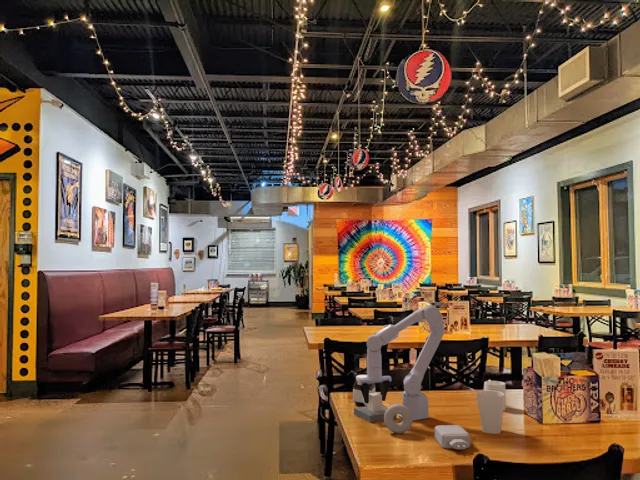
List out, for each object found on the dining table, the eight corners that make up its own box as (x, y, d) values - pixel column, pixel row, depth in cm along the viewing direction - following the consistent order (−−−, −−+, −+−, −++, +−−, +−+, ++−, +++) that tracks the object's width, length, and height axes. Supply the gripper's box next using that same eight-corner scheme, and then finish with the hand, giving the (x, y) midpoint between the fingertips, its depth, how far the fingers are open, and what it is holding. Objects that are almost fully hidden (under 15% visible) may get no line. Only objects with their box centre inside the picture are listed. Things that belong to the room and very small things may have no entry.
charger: (447, 456, 153) (434, 439, 168) (477, 455, 153) (461, 439, 168) (447, 440, 153) (434, 425, 168) (477, 439, 154) (461, 424, 169)
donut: (412, 432, 175) (412, 403, 176) (413, 435, 172) (412, 405, 172) (384, 431, 177) (383, 402, 177) (384, 434, 173) (383, 405, 174)
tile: (379, 410, 203) (379, 404, 203) (396, 418, 192) (396, 411, 192) (354, 414, 198) (353, 408, 198) (369, 422, 187) (369, 415, 187)
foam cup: (485, 425, 183) (484, 389, 184) (510, 430, 176) (509, 393, 177) (472, 431, 176) (471, 393, 177) (497, 437, 169) (496, 398, 170)
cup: (498, 402, 215) (497, 378, 215) (509, 410, 203) (508, 385, 203) (479, 402, 214) (478, 379, 215) (489, 410, 202) (488, 385, 203)
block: (376, 408, 198) (376, 392, 198) (382, 410, 194) (381, 394, 194) (367, 409, 196) (367, 393, 196) (373, 411, 192) (373, 395, 193)
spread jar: (362, 400, 220) (362, 373, 221) (385, 404, 213) (385, 376, 214) (348, 406, 210) (347, 378, 211) (371, 410, 204) (371, 381, 205)
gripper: (384, 363, 203) (384, 397, 202) (353, 366, 197) (353, 401, 196) (394, 366, 197) (394, 401, 196) (362, 369, 190) (362, 405, 189)
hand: (374, 401), depth 195 cm, fingers open, 7 cm apart
